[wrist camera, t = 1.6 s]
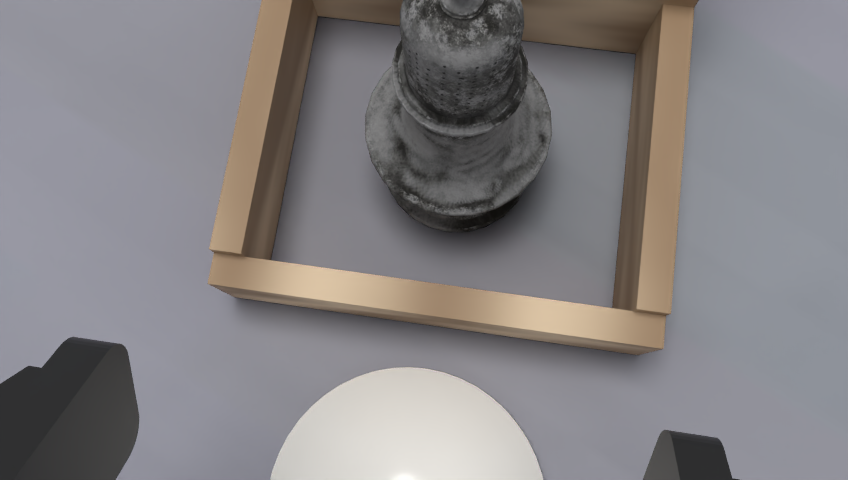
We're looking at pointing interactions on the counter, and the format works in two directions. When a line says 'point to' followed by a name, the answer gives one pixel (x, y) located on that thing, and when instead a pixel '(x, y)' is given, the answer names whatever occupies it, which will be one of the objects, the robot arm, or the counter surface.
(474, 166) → the grey tall domed piece
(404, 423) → the saucer
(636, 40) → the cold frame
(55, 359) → the robot arm
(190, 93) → the counter surface
